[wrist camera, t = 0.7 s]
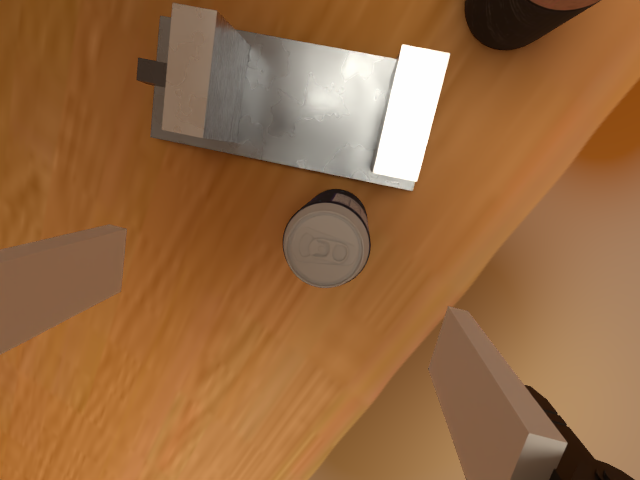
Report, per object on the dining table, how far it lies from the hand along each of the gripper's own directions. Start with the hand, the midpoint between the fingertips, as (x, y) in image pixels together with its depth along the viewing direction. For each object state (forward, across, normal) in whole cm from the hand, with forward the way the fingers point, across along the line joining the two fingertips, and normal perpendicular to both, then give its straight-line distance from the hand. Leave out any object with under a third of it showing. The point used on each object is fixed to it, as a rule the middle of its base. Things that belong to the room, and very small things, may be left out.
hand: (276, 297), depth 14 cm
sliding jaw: (+18, -13, +9) cm, 24 cm away
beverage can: (+20, +1, 0) cm, 20 cm away
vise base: (+20, -5, +9) cm, 22 cm away
